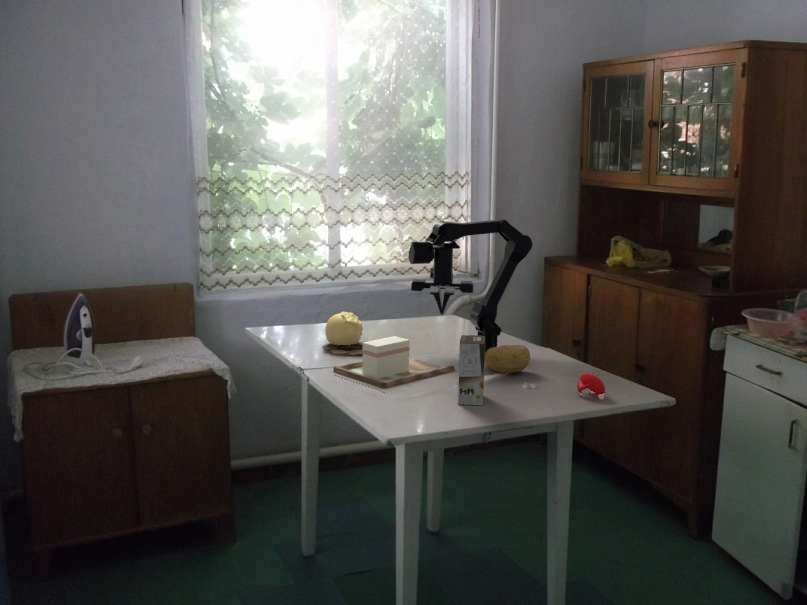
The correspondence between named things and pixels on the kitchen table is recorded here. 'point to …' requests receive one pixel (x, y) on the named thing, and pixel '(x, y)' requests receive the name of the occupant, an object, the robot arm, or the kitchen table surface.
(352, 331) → the sculpture
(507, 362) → the potato
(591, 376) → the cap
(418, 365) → the tray
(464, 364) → the coffee box
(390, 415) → the kitchen table surface
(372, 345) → the cream block
